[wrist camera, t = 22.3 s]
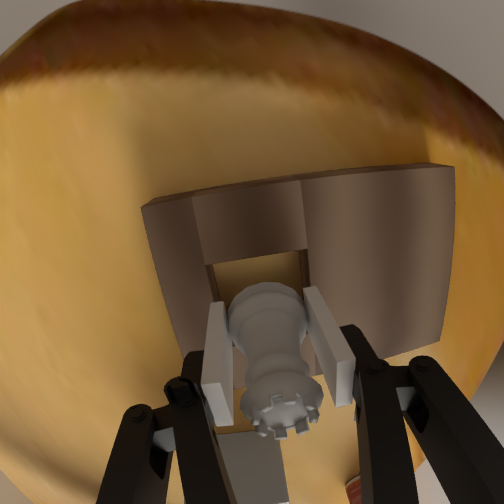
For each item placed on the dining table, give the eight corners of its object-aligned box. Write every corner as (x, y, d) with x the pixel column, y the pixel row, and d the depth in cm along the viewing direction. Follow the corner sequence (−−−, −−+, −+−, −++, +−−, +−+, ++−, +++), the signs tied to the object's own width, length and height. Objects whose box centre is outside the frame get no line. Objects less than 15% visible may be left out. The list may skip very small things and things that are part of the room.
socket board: (199, 368, 24) (196, 392, 21) (153, 198, 19) (140, 207, 16) (422, 322, 24) (439, 340, 21) (430, 162, 19) (454, 166, 17)
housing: (210, 474, 30) (209, 534, 22) (190, 436, 27) (183, 508, 19) (283, 467, 30) (293, 528, 22) (277, 427, 27) (289, 501, 19)
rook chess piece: (316, 322, 18) (358, 423, 10) (251, 354, 18) (261, 462, 11) (282, 263, 16) (318, 357, 9) (212, 301, 17) (199, 409, 10)
